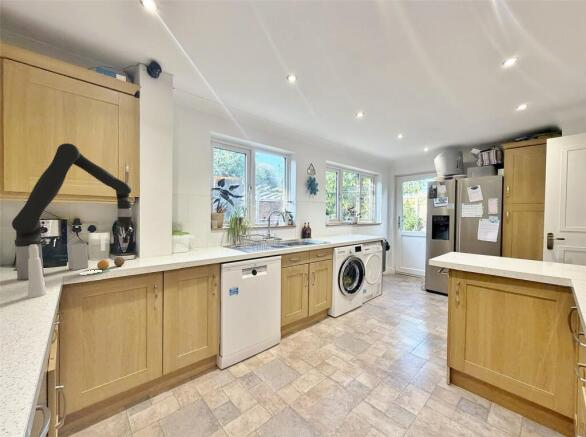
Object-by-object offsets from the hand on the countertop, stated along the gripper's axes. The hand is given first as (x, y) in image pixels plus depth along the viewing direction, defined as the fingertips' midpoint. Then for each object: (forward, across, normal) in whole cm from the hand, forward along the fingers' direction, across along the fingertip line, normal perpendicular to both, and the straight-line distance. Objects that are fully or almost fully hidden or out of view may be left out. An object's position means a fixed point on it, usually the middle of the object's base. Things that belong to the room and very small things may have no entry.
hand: (125, 243), depth 159 cm
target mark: (+14, 0, -19) cm, 23 cm away
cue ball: (+10, +1, -5) cm, 12 cm away
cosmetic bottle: (+14, +13, -50) cm, 54 cm away
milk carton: (+14, -16, -17) cm, 27 cm away
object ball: (+11, 0, -14) cm, 18 cm away
